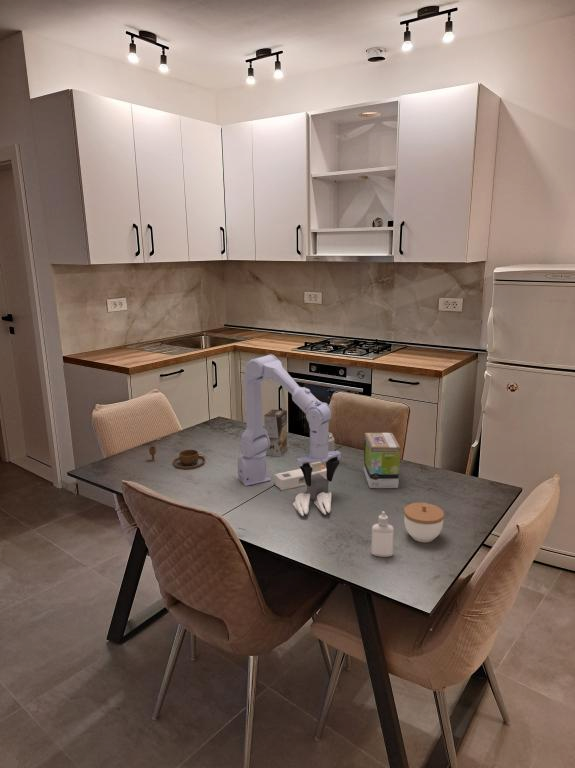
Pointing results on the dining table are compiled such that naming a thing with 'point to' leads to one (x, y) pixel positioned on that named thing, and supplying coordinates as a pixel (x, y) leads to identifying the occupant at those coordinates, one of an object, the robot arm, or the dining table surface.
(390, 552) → the eye dropper bottle
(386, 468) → the tea box
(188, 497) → the dining table surface
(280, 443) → the coffee box
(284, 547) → the dining table surface
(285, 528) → the dining table surface
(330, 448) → the can
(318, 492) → the block
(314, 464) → the beige plug
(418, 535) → the lidded jar
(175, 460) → the place setting
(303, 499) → the salt and pepper shakers
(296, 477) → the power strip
